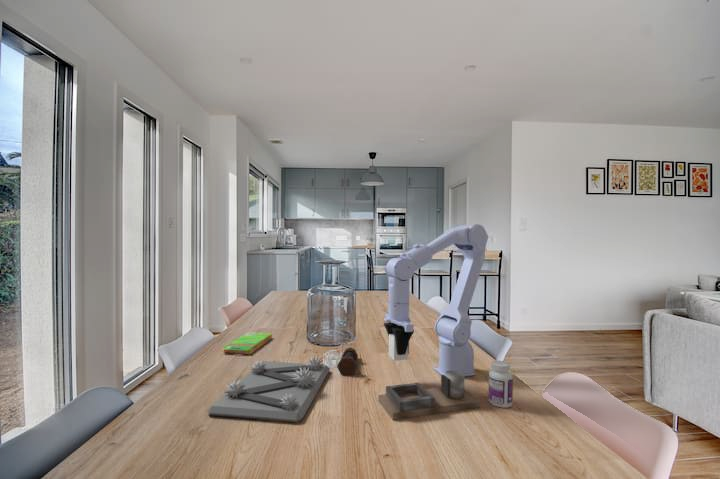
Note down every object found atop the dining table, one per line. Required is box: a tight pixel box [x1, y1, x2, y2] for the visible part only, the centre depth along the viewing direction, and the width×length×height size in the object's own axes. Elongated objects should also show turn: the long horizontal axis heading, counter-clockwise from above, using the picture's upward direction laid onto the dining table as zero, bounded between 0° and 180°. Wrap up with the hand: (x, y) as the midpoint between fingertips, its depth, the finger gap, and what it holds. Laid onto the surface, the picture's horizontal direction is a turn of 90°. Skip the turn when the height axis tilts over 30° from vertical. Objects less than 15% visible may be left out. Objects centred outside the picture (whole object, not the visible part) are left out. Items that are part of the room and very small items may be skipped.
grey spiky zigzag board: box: [206, 355, 331, 423], centre depth 89 cm, size 30×22×7 cm
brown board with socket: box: [378, 370, 481, 421], centre depth 83 cm, size 22×9×6 cm, turn 107°
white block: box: [388, 334, 410, 362], centre depth 96 cm, size 4×4×6 cm
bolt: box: [336, 347, 359, 377], centre depth 107 cm, size 6×5×15 cm
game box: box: [221, 332, 273, 355], centre depth 126 cm, size 3×10×20 cm
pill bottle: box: [488, 360, 514, 409], centre depth 84 cm, size 5×5×10 cm
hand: (398, 351), depth 96 cm, fingers closed on white block, 4 cm apart
